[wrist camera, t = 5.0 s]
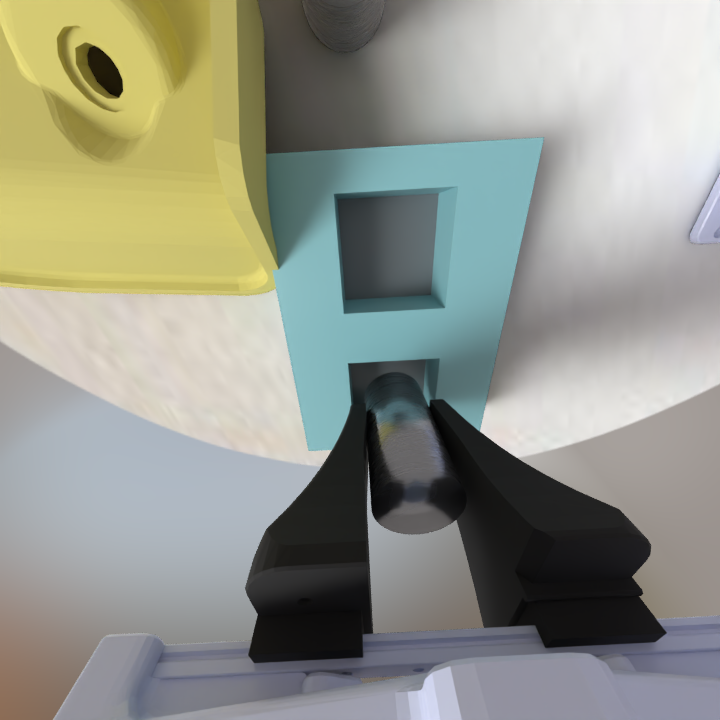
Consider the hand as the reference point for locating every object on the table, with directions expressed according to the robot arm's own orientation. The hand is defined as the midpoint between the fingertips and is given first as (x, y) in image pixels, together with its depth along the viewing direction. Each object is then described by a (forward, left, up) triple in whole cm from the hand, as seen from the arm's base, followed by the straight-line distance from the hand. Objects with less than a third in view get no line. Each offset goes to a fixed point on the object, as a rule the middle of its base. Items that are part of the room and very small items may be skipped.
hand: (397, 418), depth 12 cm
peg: (0, 0, -2) cm, 2 cm away
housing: (0, -4, -5) cm, 6 cm away
